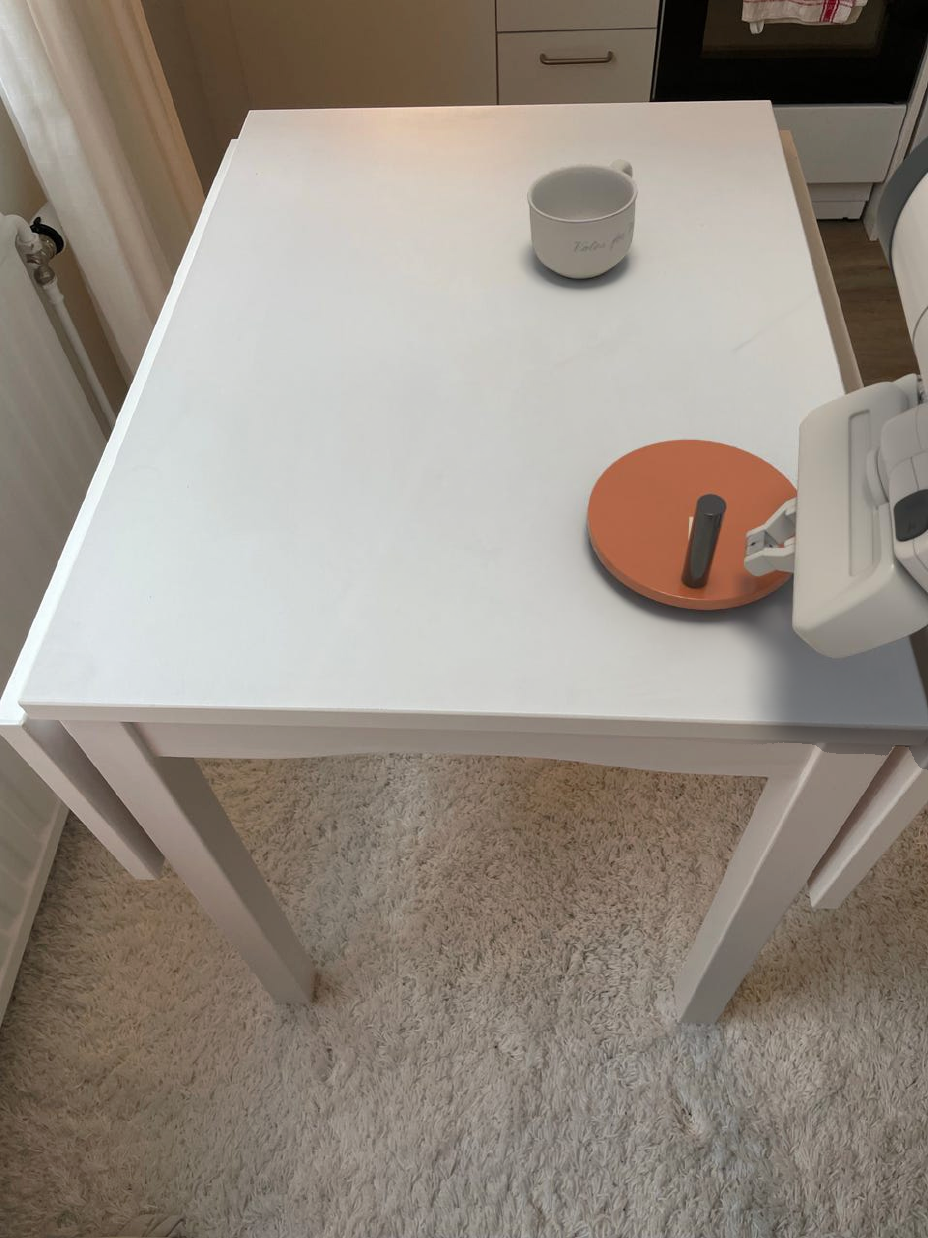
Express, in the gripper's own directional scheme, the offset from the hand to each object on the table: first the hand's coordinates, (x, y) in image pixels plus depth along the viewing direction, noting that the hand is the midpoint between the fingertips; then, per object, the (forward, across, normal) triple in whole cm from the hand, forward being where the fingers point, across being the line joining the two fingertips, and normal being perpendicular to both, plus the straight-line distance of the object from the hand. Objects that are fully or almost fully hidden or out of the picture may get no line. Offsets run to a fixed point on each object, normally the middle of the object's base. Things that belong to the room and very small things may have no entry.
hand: (749, 555), depth 67 cm
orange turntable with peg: (+6, -7, +1) cm, 9 cm away
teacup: (+17, -44, -8) cm, 48 cm away
